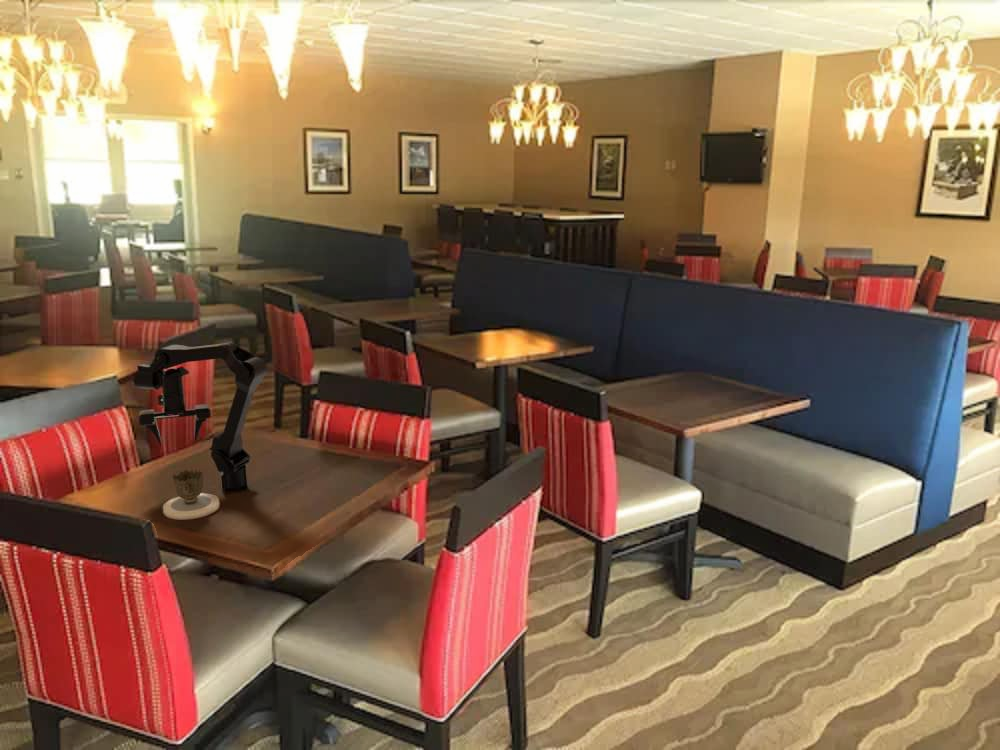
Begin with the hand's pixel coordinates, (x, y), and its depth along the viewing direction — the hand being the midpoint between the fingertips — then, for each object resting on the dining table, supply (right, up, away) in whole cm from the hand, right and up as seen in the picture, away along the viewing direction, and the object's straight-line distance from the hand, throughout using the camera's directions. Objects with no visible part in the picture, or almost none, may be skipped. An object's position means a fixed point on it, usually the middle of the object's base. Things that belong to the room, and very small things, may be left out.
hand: (178, 443), depth 230 cm
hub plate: (+10, -16, -15) cm, 24 cm away
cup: (+10, -15, -15) cm, 23 cm away
